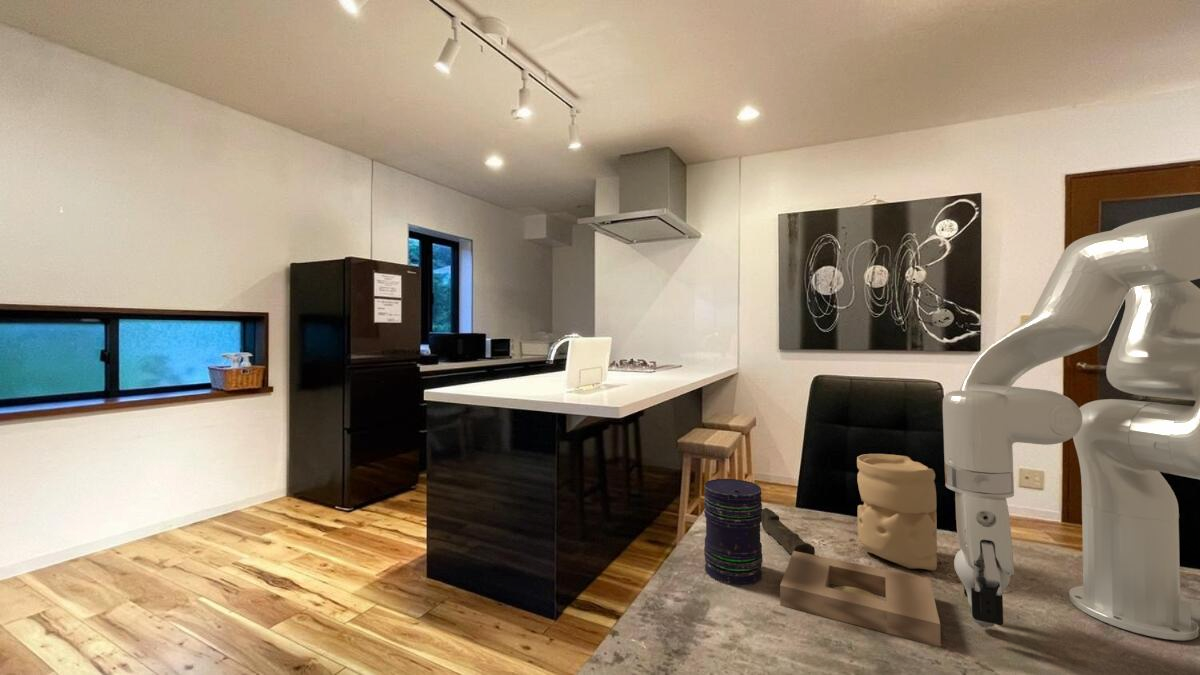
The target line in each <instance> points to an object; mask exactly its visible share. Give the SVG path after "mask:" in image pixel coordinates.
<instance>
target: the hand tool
mask: <svg viewBox="0 0 1200 675" xmlns="http://www.w3.org/2000/svg"><path fill="white" fill-rule="evenodd" d="M761 513H762V521H761V527H762V529H763V530H765V531H764V532H765V534H766V533H767V534H768V535H767V534H766V535H767V536H770V535H772V536H771V537H772V538H773V539H775V541H776V542H778V544H780V545H781V546H782V548H784V550H785V551H787V552H788V554H789V555H790V556H792V553H793V551H797V552H802V553H807V554H812V555H815V554H816V549H815V547H814V546H813V545H812V544H810V543H808V542H805V541H804V540H803V539H802V538H801V537H800V536H799V534H798V533H796V532H794V531H793V530H791V529H789V527H787V526H786V525H785V524H784V523H782V521H781V520H780V516H779V515H778V514H776V513H775V511H774V510H772V509H770V508H767V507H765V508H762V512H761Z"/></svg>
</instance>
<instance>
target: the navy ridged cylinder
mask: <svg viewBox="0 0 1200 675" xmlns="http://www.w3.org/2000/svg"><path fill="white" fill-rule="evenodd" d="M704 490H705V491H704V499H703V504H704V506H703V507H704V511H703V512H704V518H705V537H704V547H703V548H704V549H703V550H704V551H703V554H704V561H705V565H704V571H706V572H705V573H706V575H707V574H708V575H709V576H710V577H709V576H708V575H707V576H708V577H709V578H711V579H712V578H713V580H714V579H715V580H714V581H716V580H717V581H716V582H718V581H719V583H722V584H724V585H729V586H733V587H734V586H735V587H736V586H737V587H745V586H747V587H748V586H752V585H755V584H757V583H759V582H760V581H761V580H762V578H763V572H762V568H763V553H762V552H763V551H762V549H763V548H762V547H763V546H762V543H761V524H762V522H761V521H762V513H761V512H762V509H763V504H762V488H761V486H760V485H758V484H757V483H754V482H751V481H747V480H742V479H735V478H716V479H711V480H707V481H706V482H705V483H704Z"/></svg>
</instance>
